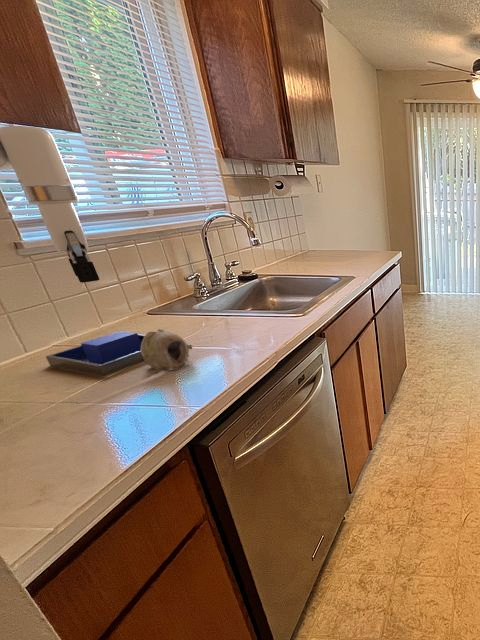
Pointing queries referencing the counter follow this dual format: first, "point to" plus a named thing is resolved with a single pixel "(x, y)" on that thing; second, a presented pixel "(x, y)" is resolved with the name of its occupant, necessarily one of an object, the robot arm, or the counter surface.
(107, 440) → the counter surface
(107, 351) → the blue block
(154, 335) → the beige rounded hollow piece
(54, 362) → the tray
